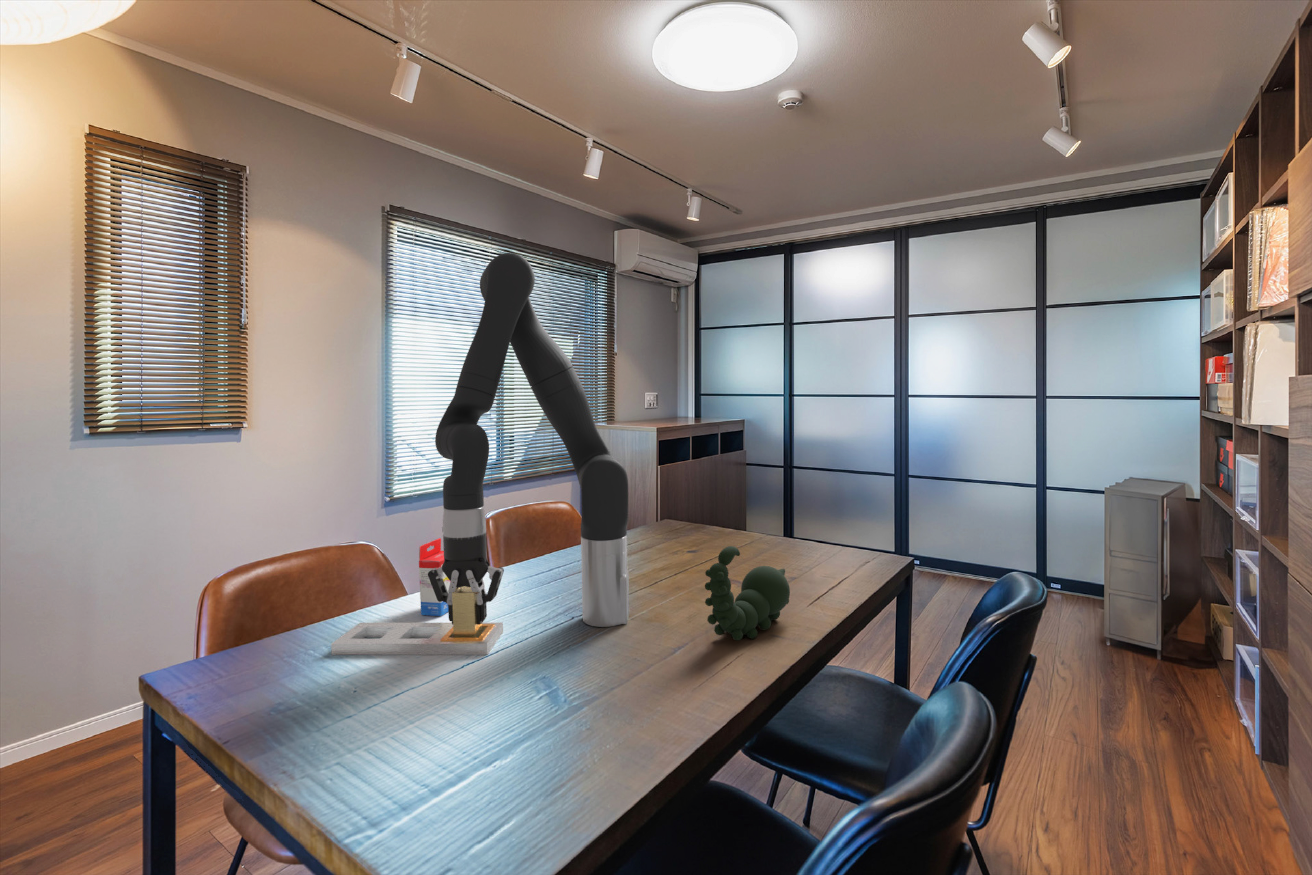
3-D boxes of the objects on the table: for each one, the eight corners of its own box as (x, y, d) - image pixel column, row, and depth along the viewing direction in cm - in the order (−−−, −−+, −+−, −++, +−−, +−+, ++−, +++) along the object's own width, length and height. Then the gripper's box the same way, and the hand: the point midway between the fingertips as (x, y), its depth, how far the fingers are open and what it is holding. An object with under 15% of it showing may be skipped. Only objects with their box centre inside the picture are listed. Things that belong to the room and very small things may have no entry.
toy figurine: (739, 664, 107) (806, 612, 125) (733, 560, 104) (803, 522, 123) (696, 650, 113) (766, 602, 131) (689, 551, 110) (762, 516, 129)
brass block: (482, 632, 115) (481, 586, 115) (475, 641, 111) (473, 593, 111) (461, 632, 115) (459, 586, 115) (453, 641, 111) (452, 593, 111)
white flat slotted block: (503, 632, 118) (502, 621, 118) (487, 654, 108) (486, 642, 108) (360, 632, 119) (359, 621, 119) (331, 654, 109) (331, 642, 109)
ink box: (441, 617, 127) (438, 547, 126) (420, 615, 128) (417, 546, 127) (462, 603, 135) (460, 537, 134) (442, 602, 136) (439, 537, 135)
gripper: (508, 526, 115) (511, 615, 117) (434, 527, 116) (437, 615, 117) (497, 536, 108) (500, 631, 109) (417, 536, 108) (421, 630, 110)
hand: (467, 622), depth 113 cm, fingers closed on brass block, 4 cm apart
